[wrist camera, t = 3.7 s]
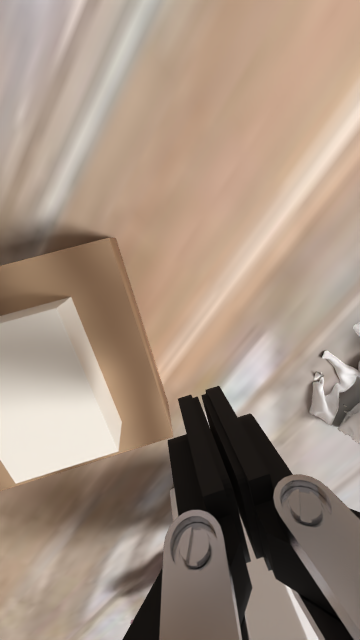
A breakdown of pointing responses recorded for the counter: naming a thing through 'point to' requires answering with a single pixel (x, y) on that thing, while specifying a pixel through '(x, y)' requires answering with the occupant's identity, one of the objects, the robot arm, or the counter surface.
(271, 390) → the counter surface
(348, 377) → the white irregular piece
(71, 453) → the cream rectangular block
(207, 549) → the robot arm
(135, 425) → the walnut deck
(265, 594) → the milk carton
